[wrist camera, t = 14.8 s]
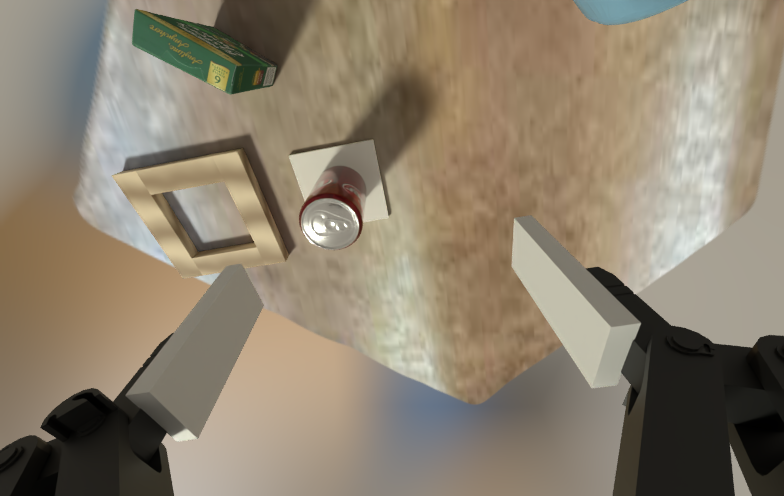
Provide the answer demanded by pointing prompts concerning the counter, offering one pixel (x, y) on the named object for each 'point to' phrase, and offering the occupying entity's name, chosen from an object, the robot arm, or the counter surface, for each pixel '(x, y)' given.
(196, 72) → the coffee box
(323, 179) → the soda can
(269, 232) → the well board
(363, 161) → the tile
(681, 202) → the counter surface
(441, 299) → the counter surface
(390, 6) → the counter surface
